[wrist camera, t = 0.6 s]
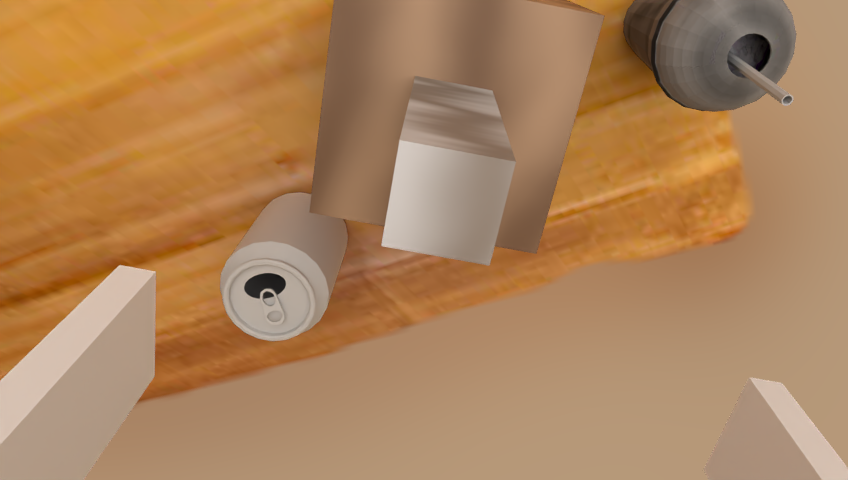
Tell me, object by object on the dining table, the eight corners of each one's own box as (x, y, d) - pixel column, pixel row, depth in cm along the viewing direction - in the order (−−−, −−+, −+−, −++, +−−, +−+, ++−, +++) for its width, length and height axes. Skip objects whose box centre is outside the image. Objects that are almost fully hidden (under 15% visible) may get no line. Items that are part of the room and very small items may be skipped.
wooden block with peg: (347, 139, 49) (248, 328, 25) (371, -42, 44) (277, -30, 19) (511, 170, 50) (575, 385, 25) (555, -5, 44) (691, 52, 20)
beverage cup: (719, -30, 44) (912, -15, 26) (695, 77, 47) (853, 159, 29) (613, -36, 44) (731, -25, 26) (596, 72, 47) (691, 150, 29)
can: (331, 177, 51) (300, 240, 40) (361, 259, 54) (340, 337, 43) (245, 201, 52) (192, 268, 41) (279, 280, 55) (238, 361, 44)
